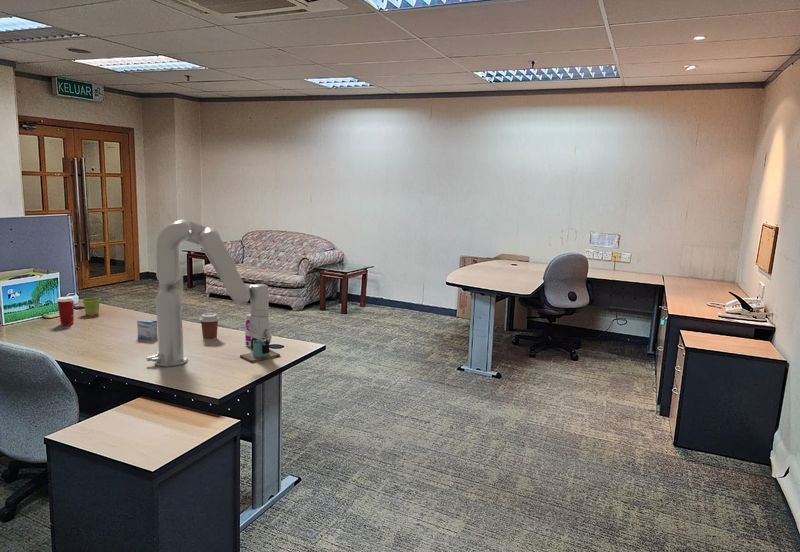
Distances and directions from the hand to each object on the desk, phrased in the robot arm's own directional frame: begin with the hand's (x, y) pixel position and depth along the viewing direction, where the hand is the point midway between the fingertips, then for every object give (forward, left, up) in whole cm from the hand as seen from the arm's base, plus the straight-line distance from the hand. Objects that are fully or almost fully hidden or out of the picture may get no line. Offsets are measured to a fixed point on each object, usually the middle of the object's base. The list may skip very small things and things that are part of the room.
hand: (260, 350), depth 236 cm
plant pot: (-32, +126, -3) cm, 130 cm away
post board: (0, 0, -3) cm, 3 cm away
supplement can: (+7, +17, -3) cm, 19 cm away
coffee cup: (-4, +40, -3) cm, 40 cm away
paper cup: (-48, +111, -3) cm, 121 cm away
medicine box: (-26, +60, -3) cm, 65 cm away
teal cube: (0, 0, -2) cm, 2 cm away
